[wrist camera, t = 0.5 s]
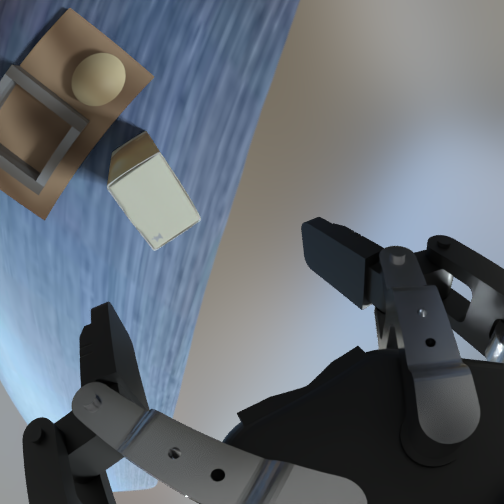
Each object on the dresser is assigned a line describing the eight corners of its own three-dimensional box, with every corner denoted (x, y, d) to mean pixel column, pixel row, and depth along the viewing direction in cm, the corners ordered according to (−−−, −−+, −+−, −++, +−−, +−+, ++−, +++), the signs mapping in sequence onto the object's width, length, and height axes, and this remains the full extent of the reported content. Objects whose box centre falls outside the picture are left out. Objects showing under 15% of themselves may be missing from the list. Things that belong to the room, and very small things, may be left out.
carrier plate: (71, 10, 18) (66, 1, 15) (153, 77, 25) (157, 75, 22) (-32, 158, 20) (-47, 168, 17) (46, 215, 27) (40, 231, 24)
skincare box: (174, 176, 32) (206, 223, 22) (140, 198, 31) (156, 256, 22) (144, 126, 28) (161, 149, 18) (108, 150, 27) (104, 187, 18)
